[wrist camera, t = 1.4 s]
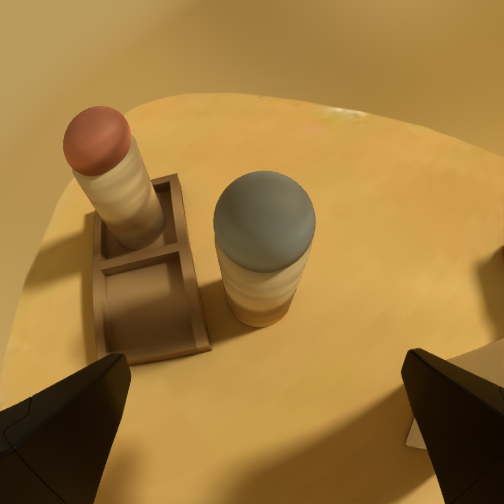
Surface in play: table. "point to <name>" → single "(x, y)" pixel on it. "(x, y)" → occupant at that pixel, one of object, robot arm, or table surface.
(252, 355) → the table surface
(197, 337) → the doll tray
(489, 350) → the milk carton
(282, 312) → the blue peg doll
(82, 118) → the red peg doll
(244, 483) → the table surface
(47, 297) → the table surface
